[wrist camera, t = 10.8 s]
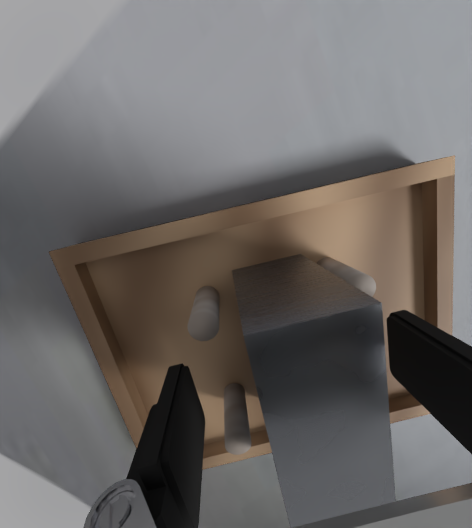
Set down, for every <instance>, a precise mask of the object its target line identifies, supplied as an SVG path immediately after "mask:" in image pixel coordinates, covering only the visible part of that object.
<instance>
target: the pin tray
mask: <svg viewBox="0 0 472 528" xmlns="http://www.w3.org/2000/svg"><path fill="white" fill-rule="evenodd" d="M454 176H455V156H450V157H445V158H441V159H436V160H431V161H427V162H422V163H417V164H413V165H409V166H405V167H400V168H396V169H392V170H388V171H384V172H379V173H375V174H371V175H367V176H362V177H358V178H354V179H350V180H346V181H341V182H337V183H333V184H329V185H324V186H320V187H316V188H312V189H308V190H303V191H299V192H295V193H291V194H286V195H282V196H278V197H274V198H270V199H265V200H261V201H257V202H253V203H248V204H244V205H240V206H236V207H232V208H227V209H223V210H219V211H215V212H210V213H206V214H202V215H198V216H194V217H189V218H185V219H181V220H177V221H173V222H168V223H164V224H160V225H156V226H151V227H147V228H143V229H139V230H135V231H130V232H126V233H122V234H118V235H113V236H109V237H105V238H101V239H97V240H92V241H88V242H84V243H80V244H76V245H72V246H68V247H64V248H61V249H57V250H53V251H49V254H50V256H51V258H52V261H53V263H54V265H55V267H56V270H57V272H58V274H59V276H60V279H61V281H62V283H63V285H64V287H65V290H66V292H67V294H68V296H69V299H70V301H71V303H72V305H73V308H74V310H75V312H76V314H77V317H78V319H79V321H80V323H81V325H82V328H83V330H84V332H85V334H86V337H87V339H88V341H89V343H90V346H91V348H92V350H93V352H94V355H95V357H96V359H97V361H98V363H99V366H100V368H101V370H102V372H103V375H104V377H105V379H106V381H107V384H108V386H109V388H110V390H111V393H112V395H113V397H114V399H115V401H116V404H117V406H118V408H119V410H120V413H121V415H122V417H123V419H124V422H125V424H126V426H127V428H128V431H129V433H130V435H131V437H132V439H133V442H134V444H135V446H136V448H137V447H138V444H139V441H140V438H141V435H142V432H143V429H144V426H145V423H146V420H147V417H148V415H149V412H150V409H151V407H152V406H153V405H154V404H157V402H158V399H159V396H160V393H161V390H162V387H163V384H164V380H165V377H166V374H167V371H168V368H169V367H170V366H173V365H177V364H181V363H182V364H184V366H188V367H189V369H190V372H191V375H192V378H193V381H194V384H195V387H196V390H197V393H198V396H199V399H200V402H201V406H202V409H203V412H204V415H205V436H204V451H203V466H202V470H203V469H207V468H211V467H215V466H220V465H224V464H228V463H232V462H236V461H240V460H244V459H248V458H252V457H256V456H260V455H264V454H268V453H272V450H271V446H270V442H269V438H268V434H267V430H266V426H265V422H264V418H263V413H262V409H261V405H260V401H259V397H258V393H257V389H256V385H255V381H254V377H253V373H252V369H251V365H250V361H249V356H248V352H247V348H246V344H245V340H244V336H243V331H242V325H241V319H240V314H239V308H238V303H237V297H236V291H235V286H234V280H233V274H232V270H234V269H238V268H243V267H247V266H251V265H255V264H260V263H264V262H268V261H272V260H276V259H281V258H285V257H289V256H293V255H298V254H301V255H303V256H305V257H306V258H308V259H310V260H311V261H313V262H315V263H316V264H318V265H320V266H321V267H323V268H325V269H326V270H328V271H330V272H331V273H333V274H335V275H336V276H338V277H340V278H341V279H343V280H345V281H346V282H348V283H350V284H351V285H353V286H355V287H356V288H358V289H360V290H361V291H363V292H365V293H366V294H368V295H369V296H371V297H373V298H374V299H376V300H378V301H379V302H381V303H382V311H383V326H384V341H385V355H386V370H387V385H388V399H389V414H390V424H391V423H395V422H399V421H403V420H407V419H411V418H415V417H419V416H423V415H427V414H431V413H430V412H429V411H428V410H427V409H426V408H425V407H424V406H423V405H422V404H420V403H419V402H418V401H417V400H416V399H415V398H414V397H413V396H412V395H411V394H410V393H409V392H408V391H407V390H406V389H405V388H404V387H403V386H402V385H401V384H400V383H399V382H398V381H397V380H396V379H395V378H394V377H393V375H392V373H391V371H390V366H389V351H388V336H387V321H386V320H387V318H388V317H389V315H390V313H392V312H396V311H401V310H407V311H409V312H411V313H413V314H414V315H416V316H418V317H420V318H421V319H423V320H425V321H427V322H429V323H430V324H432V325H434V326H436V327H437V328H439V329H441V330H443V331H445V332H446V333H448V334H450V335H452V314H453V245H454Z"/></svg>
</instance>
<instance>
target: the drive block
mask: <svg viewBox="0 0 472 528" xmlns="http://www.w3.org/2000/svg"><path fill="white" fill-rule="evenodd" d="M232 274H233V280H234V286H235V291H236V297H237V303H238V308H239V314H240V319H241V325H242V331H243V336H244V340H245V344H246V348H247V352H248V356H249V361H250V365H251V369H252V373H253V377H254V381H255V385H256V389H257V393H258V397H259V401H260V405H261V409H262V413H263V418H264V422H265V426H266V430H267V434H268V438H269V442H270V446H271V450H272V454H273V458H274V462H275V466H276V470H277V475H278V479H279V483H280V487H281V491H282V495H283V499H284V503H285V507H286V511H287V515H288V519H289V523H290V527H291V528H293V527H297V526H301V525H305V524H309V523H312V522H316V521H320V520H324V519H328V518H332V517H336V516H340V515H344V514H348V513H352V512H356V511H360V510H364V509H368V508H372V507H376V506H380V505H384V504H388V503H392V502H395V487H394V473H393V458H392V443H391V429H390V414H389V399H388V385H387V370H386V355H385V341H384V326H383V311H382V303H381V302H379V301H378V300H376V299H374V298H373V297H371V296H369V295H368V294H366V293H365V292H363V291H361V290H360V289H358V288H356V287H355V286H353V285H351V284H350V283H348V282H346V281H345V280H343V279H341V278H340V277H338V276H336V275H335V274H333V273H331V272H330V271H328V270H326V269H325V268H323V267H321V266H320V265H318V264H316V263H315V262H313V261H311V260H310V259H308V258H306V257H305V256H303V255H301V254H298V255H293V256H289V257H285V258H281V259H276V260H272V261H268V262H264V263H260V264H255V265H251V266H247V267H243V268H238V269H234V270H232Z"/></svg>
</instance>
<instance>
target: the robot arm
mask: <svg viewBox="0 0 472 528" xmlns="http://www.w3.org/2000/svg"><path fill="white" fill-rule="evenodd" d="M386 321H387V336H388V351H389V366H390V371H391V373H392V375H393V377H394V378H395V379H396V380H397V381H398V382H399V383H400V384H401V385H402V386H403V387H404V388H405V389H406V390H407V391H408V392H409V393H410V394H411V395H412V396H413V397H414V398H415V399H416V400H417V401H418V402H419V403H420V404H422V405H423V406H424V407H425V408H426V409H427V410H428V411H429V412H430V413H431V414H432V415H433V416H434V417H435V418H436V419H437V420H438V421H439V422H440V423H441V424H442V425H443V426H444V427H445V428H446V429H447V430H448V431H449V432H450V433H451V434H452V435H453V436H454V437H455V438H456V439H457V440H458V441H459V442H460V443H461V444H462V445H463V446H464V447H465V448H466V449H467V450H468V451H469V452H470V453H471V454H472V347H471V346H470V345H468V344H466V343H464V342H462V341H461V340H459V339H457V338H455V337H454V336H452V335H450V334H448V333H446V332H445V331H443V330H441V329H439V328H437V327H436V326H434V325H432V324H430V323H429V322H427V321H425V320H423V319H421V318H420V317H418V316H416V315H414V314H413V313H411V312H409V311H407V310H401V311H396V312H392V313H390V315H389V317H388V318H387V320H386ZM204 436H205V415H204V412H203V409H202V406H201V402H200V399H199V396H198V393H197V390H196V387H195V384H194V381H193V378H192V375H191V372H190V369H189V367H188V366H184V364H182V363H181V364H177V365H173V366H170V367H169V368H168V371H167V374H166V377H165V380H164V384H163V387H162V390H161V393H160V396H159V399H158V402H157V404H154V405H153V406H152V407H151V409H150V412H149V415H148V417H147V420H146V423H145V426H144V429H143V432H142V435H141V438H140V441H139V444H138V447H137V449H136V452H135V455H134V458H133V461H132V464H131V467H130V470H129V473H128V476H127V479H124V480H121V481H119V482H117V483H115V484H113V485H112V486H111V487H109V488H108V489H107V490H106V491H105V492H104V493H103V494H102V495H101V496H100V497H99V498H98V499H97V501H96V502H95V504H94V505H93V506H92V508H91V510H90V512H89V514H88V516H87V518H86V521H85V525H84V528H198V523H199V510H200V495H201V480H202V466H203V451H204ZM293 528H472V483H470V484H466V485H461V486H457V487H453V488H449V489H445V490H441V491H437V492H433V493H429V494H424V495H420V496H416V497H412V498H408V499H404V500H400V501H396V502H392V503H388V504H384V505H380V506H376V507H372V508H368V509H364V510H360V511H356V512H352V513H348V514H344V515H340V516H336V517H332V518H328V519H324V520H320V521H316V522H312V523H309V524H305V525H301V526H297V527H293Z"/></svg>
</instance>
